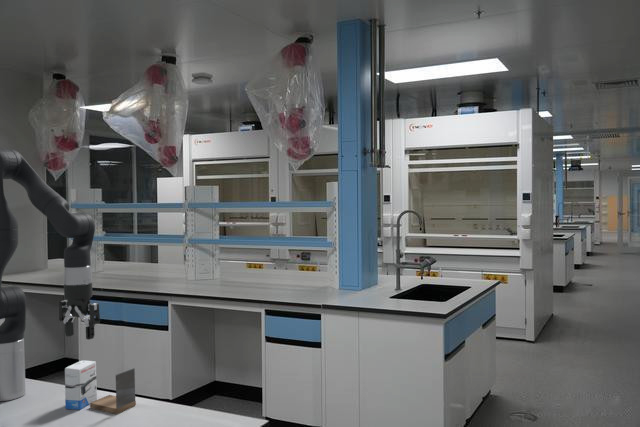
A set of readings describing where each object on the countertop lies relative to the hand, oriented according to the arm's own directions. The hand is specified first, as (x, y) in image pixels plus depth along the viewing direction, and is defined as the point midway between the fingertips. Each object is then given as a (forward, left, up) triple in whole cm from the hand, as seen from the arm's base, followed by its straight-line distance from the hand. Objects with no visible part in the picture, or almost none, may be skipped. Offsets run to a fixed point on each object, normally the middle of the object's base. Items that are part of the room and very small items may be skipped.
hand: (79, 337), depth 162 cm
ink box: (0, 0, -20) cm, 20 cm away
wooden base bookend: (+10, +3, -20) cm, 22 cm away
